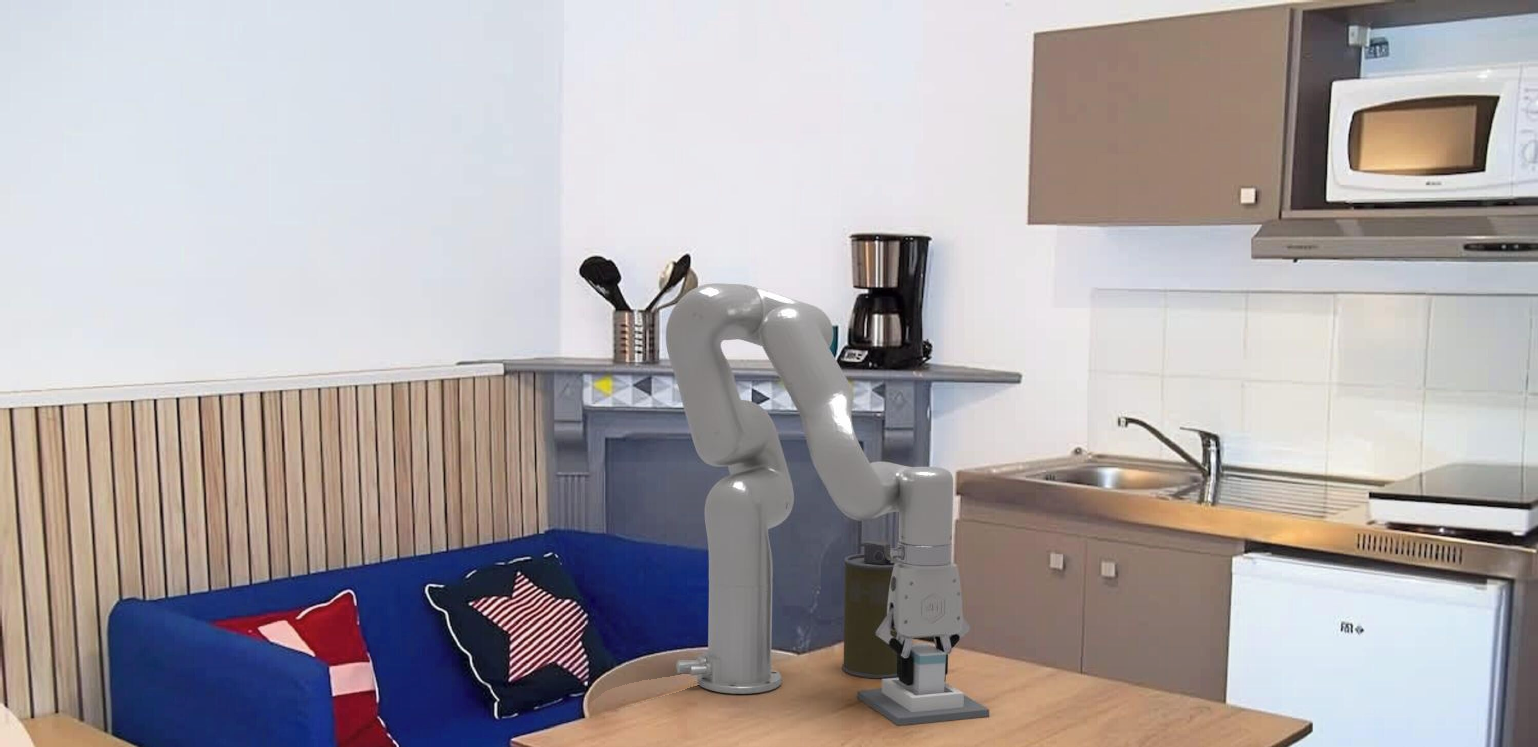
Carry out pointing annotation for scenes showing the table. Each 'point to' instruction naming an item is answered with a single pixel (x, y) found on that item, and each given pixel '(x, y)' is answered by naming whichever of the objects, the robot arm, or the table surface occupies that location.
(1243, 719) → the table surface
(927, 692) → the plug
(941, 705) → the grey square socket base
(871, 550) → the canister
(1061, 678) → the table surface
